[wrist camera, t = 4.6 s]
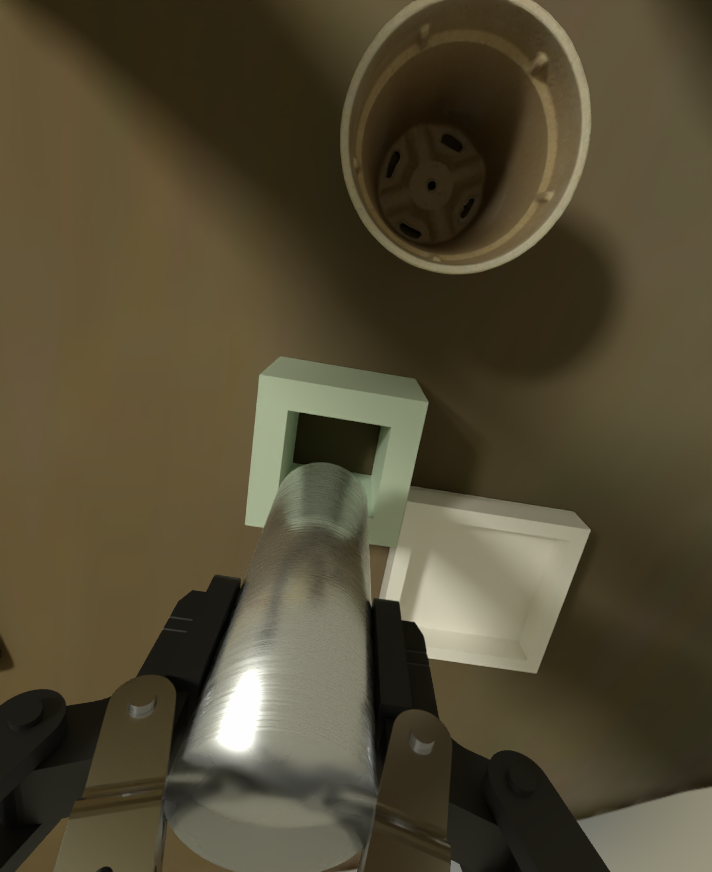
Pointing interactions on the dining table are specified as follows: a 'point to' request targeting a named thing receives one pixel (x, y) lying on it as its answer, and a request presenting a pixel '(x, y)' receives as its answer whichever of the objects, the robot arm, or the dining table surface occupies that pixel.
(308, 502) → the pin
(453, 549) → the tray
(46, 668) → the dining table surface
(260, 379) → the block
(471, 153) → the flower pot
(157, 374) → the dining table surface
